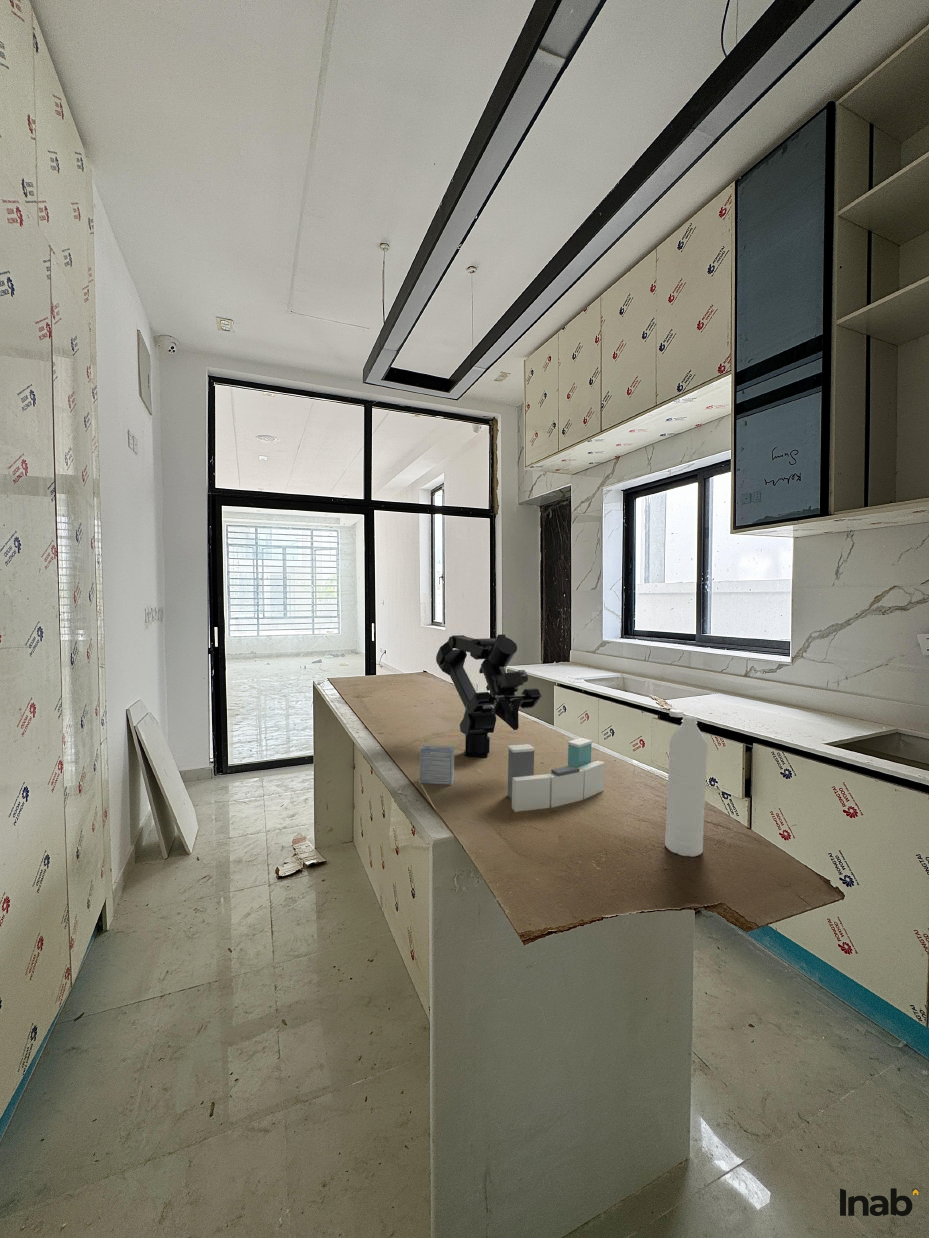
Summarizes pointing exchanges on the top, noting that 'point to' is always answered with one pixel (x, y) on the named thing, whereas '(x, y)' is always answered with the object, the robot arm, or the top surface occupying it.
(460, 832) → the top surface
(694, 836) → the water bottle
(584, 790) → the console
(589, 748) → the teal and white block
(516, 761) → the grey and white block
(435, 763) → the medicine box
